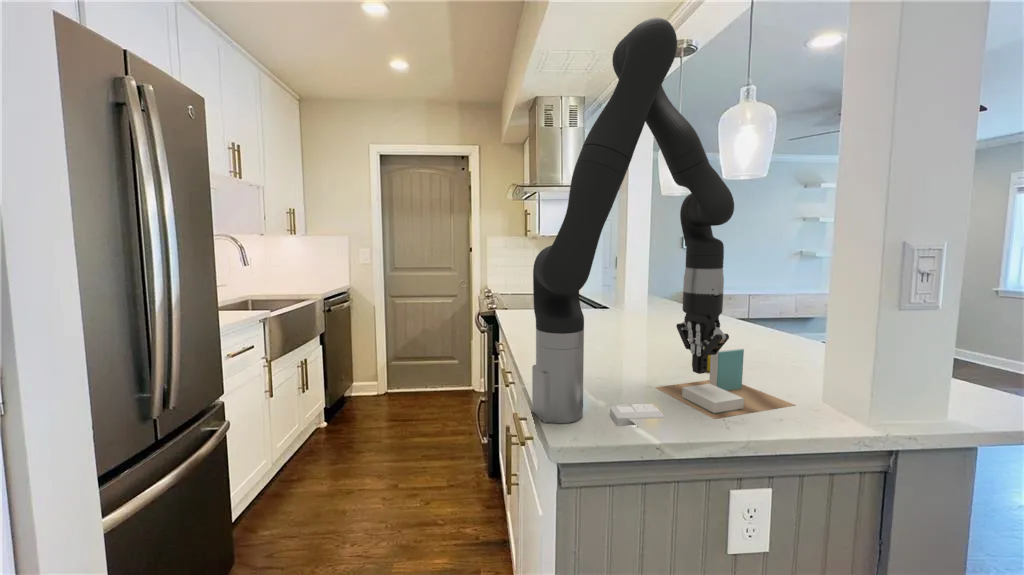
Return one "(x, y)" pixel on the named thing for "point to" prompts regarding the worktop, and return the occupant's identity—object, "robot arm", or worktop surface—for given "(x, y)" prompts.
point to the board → (752, 397)
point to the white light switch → (633, 413)
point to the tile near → (712, 398)
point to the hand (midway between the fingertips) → (699, 372)
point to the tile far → (727, 368)
